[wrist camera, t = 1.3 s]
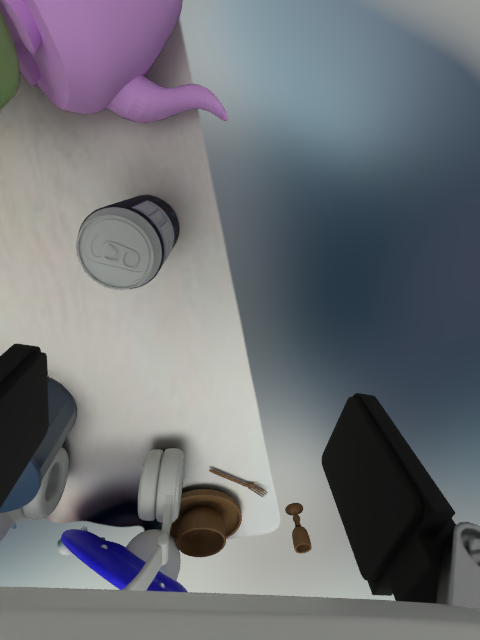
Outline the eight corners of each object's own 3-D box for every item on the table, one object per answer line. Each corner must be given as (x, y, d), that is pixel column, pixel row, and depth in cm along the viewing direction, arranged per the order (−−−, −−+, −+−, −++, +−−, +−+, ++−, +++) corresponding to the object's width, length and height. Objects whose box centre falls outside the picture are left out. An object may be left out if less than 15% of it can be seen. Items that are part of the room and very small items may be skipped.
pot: (-29, 379, 38) (-102, 441, 29) (58, 365, 38) (10, 423, 29) (11, 443, 42) (-42, 513, 34) (89, 431, 42) (55, 498, 33)
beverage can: (131, 183, 30) (81, 191, 19) (188, 210, 31) (172, 231, 20) (114, 240, 32) (60, 275, 21) (169, 262, 33) (144, 307, 22)
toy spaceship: (245, 657, 44) (265, 597, 48) (156, 623, 29) (196, 540, 34) (127, 570, 58) (151, 528, 62) (27, 516, 43) (66, 467, 47)
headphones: (186, 434, 43) (163, 615, 26) (184, 478, 46) (162, 664, 29) (28, 428, 41) (-114, 620, 24) (38, 475, 45) (-79, 671, 27)
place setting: (198, 461, 45) (196, 500, 40) (308, 503, 51) (319, 543, 45) (142, 529, 51) (133, 572, 45) (246, 561, 57) (250, 602, 51)
